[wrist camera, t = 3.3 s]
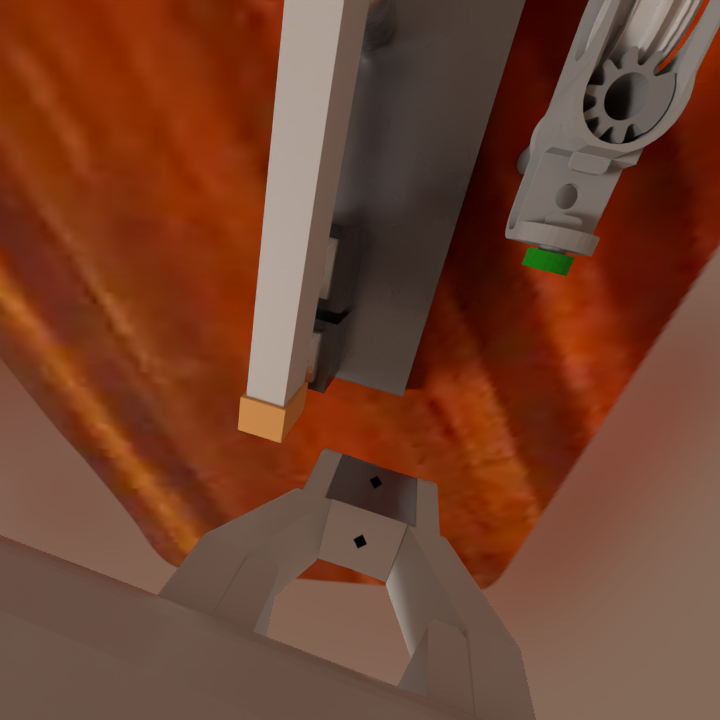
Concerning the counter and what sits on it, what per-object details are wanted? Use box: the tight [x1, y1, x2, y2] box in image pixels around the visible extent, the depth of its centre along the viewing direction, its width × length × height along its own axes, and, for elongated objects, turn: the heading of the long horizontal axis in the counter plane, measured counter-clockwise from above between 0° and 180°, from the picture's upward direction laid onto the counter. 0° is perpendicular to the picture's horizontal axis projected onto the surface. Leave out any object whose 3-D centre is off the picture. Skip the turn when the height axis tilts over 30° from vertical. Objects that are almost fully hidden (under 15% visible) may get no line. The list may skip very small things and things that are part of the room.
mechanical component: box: [505, 0, 720, 276], centre depth 14 cm, size 3×10×10 cm, turn 167°
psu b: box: [304, 308, 350, 393], centre depth 22 cm, size 5×4×4 cm
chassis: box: [332, 0, 525, 397], centre depth 18 cm, size 24×9×6 cm, turn 167°
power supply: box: [317, 221, 368, 314], centre depth 20 cm, size 5×4×4 cm
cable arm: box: [238, 0, 370, 443], centre depth 15 cm, size 22×4×3 cm, turn 167°
